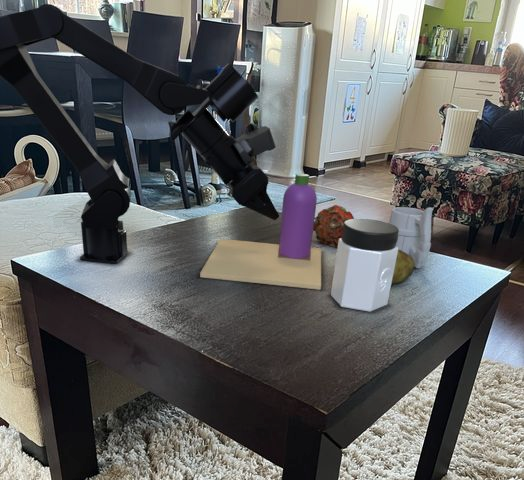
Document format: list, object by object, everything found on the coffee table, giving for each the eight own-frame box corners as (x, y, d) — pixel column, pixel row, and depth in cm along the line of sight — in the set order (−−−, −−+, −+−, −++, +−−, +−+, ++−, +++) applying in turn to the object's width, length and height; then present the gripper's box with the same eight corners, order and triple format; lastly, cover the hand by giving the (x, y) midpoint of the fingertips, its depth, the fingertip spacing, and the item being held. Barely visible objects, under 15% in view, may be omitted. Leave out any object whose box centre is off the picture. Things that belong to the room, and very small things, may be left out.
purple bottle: (293, 260, 97) (301, 179, 90) (271, 251, 101) (278, 172, 94) (316, 255, 100) (326, 177, 93) (295, 246, 104) (303, 170, 97)
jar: (362, 316, 79) (376, 237, 73) (320, 298, 84) (331, 223, 78) (396, 302, 85) (411, 228, 79) (355, 286, 90) (367, 215, 84)
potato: (421, 292, 90) (431, 245, 86) (345, 288, 89) (353, 241, 85) (407, 274, 97) (416, 231, 93) (337, 270, 96) (343, 227, 92)
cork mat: (200, 277, 88) (200, 272, 88) (220, 242, 106) (220, 238, 105) (320, 289, 87) (321, 284, 87) (320, 252, 105) (321, 248, 104)
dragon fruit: (336, 261, 106) (318, 251, 117) (371, 236, 105) (350, 228, 116) (315, 225, 102) (298, 218, 113) (351, 199, 102) (330, 194, 113)
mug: (406, 255, 107) (418, 194, 102) (439, 276, 98) (455, 210, 92) (372, 256, 105) (383, 194, 100) (402, 277, 95) (417, 210, 90)
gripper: (259, 112, 79) (321, 192, 86) (239, 102, 95) (292, 170, 102) (204, 165, 81) (269, 238, 88) (193, 147, 97) (249, 210, 104)
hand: (271, 211), depth 96 cm, fingers open, 9 cm apart
